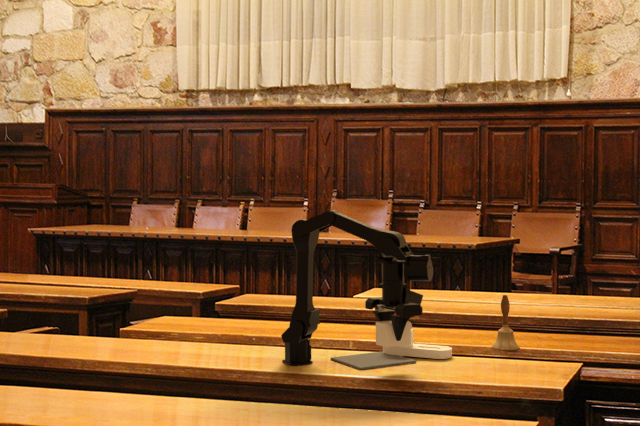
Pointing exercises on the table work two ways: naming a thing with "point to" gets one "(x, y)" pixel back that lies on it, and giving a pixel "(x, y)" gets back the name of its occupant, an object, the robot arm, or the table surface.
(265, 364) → the table surface
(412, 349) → the bracket
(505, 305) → the hand bell
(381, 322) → the card deck box
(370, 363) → the grey rubber mat
